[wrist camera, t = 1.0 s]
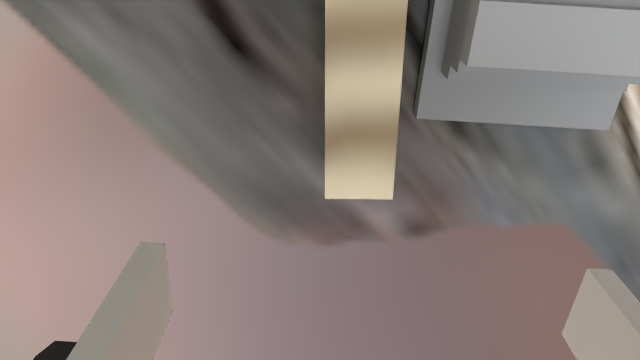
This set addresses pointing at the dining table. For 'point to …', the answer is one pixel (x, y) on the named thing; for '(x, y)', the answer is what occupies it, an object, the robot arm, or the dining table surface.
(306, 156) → the dining table surface
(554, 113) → the fulcrum
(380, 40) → the bar
